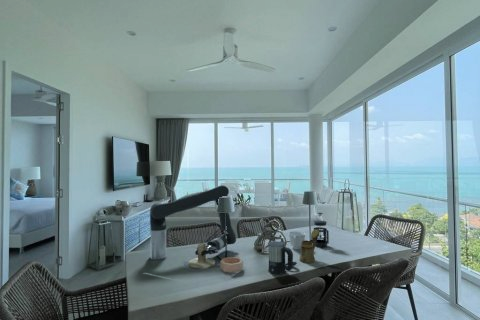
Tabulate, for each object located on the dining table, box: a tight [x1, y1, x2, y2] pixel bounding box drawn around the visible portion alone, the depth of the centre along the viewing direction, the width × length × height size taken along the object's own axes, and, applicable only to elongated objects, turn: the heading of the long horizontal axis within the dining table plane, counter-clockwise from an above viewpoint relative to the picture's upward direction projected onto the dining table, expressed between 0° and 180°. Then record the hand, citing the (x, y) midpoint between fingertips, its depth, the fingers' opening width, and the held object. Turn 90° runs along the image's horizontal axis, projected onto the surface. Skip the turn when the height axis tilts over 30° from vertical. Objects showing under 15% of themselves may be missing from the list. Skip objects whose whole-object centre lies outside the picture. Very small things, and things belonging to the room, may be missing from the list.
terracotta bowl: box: [219, 256, 244, 275], centre depth 147 cm, size 11×11×5 cm
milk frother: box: [267, 240, 298, 275], centre depth 147 cm, size 14×16×15 cm
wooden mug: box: [299, 229, 320, 264], centre depth 162 cm, size 9×14×18 cm, turn 116°
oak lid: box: [188, 242, 215, 270], centre depth 154 cm, size 15×15×11 cm
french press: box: [313, 212, 330, 249], centre depth 190 cm, size 12×9×23 cm
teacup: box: [287, 231, 307, 250], centre depth 184 cm, size 12×15×10 cm
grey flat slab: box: [182, 256, 221, 273], centre depth 154 cm, size 18×16×1 cm
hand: (198, 253), depth 151 cm, fingers closed on oak lid, 3 cm apart
